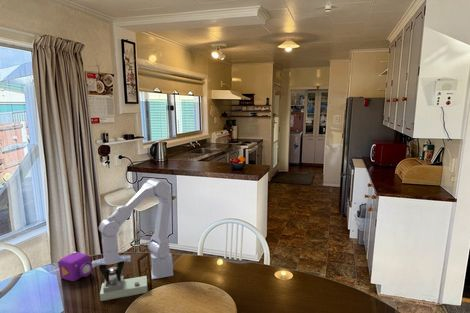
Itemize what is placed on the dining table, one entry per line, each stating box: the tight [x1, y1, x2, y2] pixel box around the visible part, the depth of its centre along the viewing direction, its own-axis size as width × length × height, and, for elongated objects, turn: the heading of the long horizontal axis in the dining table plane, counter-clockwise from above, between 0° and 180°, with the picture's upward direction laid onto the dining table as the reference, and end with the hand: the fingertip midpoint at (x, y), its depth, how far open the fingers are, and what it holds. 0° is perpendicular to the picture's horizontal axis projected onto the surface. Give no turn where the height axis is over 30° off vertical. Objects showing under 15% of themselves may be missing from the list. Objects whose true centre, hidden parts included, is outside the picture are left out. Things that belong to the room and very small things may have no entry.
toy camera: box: [58, 251, 93, 282], centre depth 139 cm, size 11×14×10 cm
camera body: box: [99, 275, 148, 302], centre depth 127 cm, size 18×8×5 cm, turn 107°
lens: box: [107, 266, 119, 286], centre depth 125 cm, size 4×4×6 cm
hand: (113, 279), depth 125 cm, fingers closed on lens, 4 cm apart
